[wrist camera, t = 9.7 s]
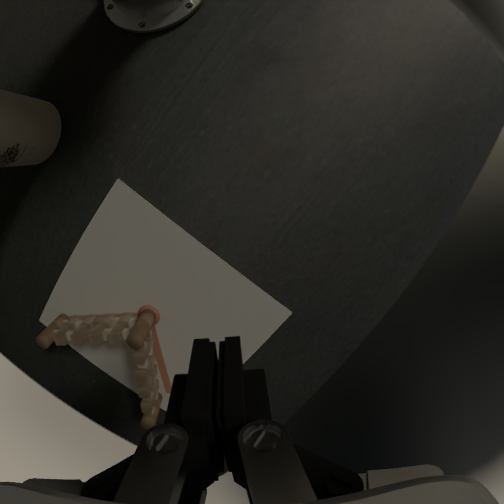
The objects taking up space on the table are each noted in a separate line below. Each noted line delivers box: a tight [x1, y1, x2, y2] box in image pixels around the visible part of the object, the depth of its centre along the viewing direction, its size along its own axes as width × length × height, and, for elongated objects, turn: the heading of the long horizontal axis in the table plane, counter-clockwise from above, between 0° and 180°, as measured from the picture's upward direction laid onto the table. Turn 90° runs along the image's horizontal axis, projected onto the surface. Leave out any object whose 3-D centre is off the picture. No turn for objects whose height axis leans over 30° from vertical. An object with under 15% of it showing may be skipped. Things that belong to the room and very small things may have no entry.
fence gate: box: [132, 329, 163, 430], centre depth 35 cm, size 12×2×6 cm, turn 176°
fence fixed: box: [36, 309, 156, 349], centre depth 34 cm, size 14×2×6 cm, turn 95°
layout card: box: [39, 179, 292, 411], centre depth 37 cm, size 25×23×1 cm
